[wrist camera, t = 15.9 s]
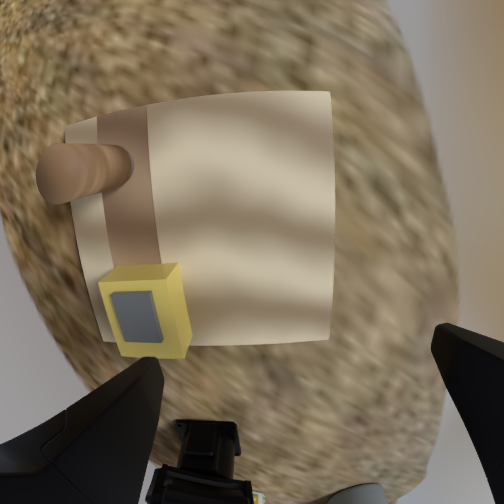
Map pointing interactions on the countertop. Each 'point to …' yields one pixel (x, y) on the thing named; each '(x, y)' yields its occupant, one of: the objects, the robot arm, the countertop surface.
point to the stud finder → (147, 310)
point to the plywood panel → (221, 211)
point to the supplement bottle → (258, 497)
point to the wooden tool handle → (81, 170)
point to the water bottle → (360, 495)
